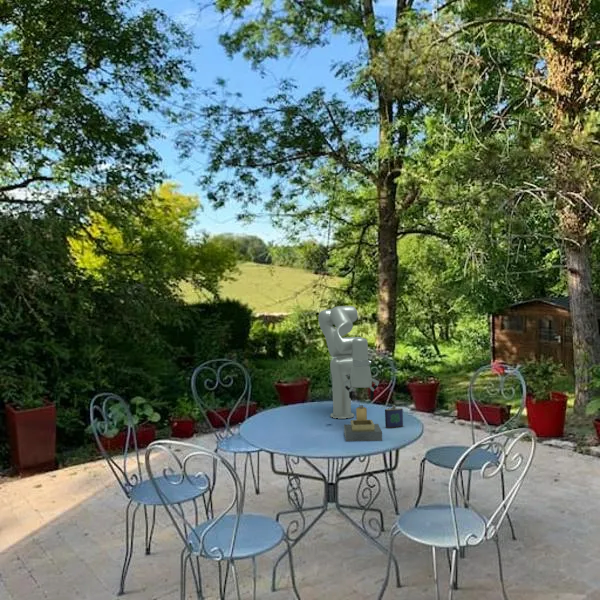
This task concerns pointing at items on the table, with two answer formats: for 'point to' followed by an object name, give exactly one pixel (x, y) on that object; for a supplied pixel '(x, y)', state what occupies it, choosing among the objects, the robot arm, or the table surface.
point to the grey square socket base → (362, 431)
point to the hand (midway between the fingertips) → (361, 399)
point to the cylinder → (361, 413)
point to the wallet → (393, 417)
